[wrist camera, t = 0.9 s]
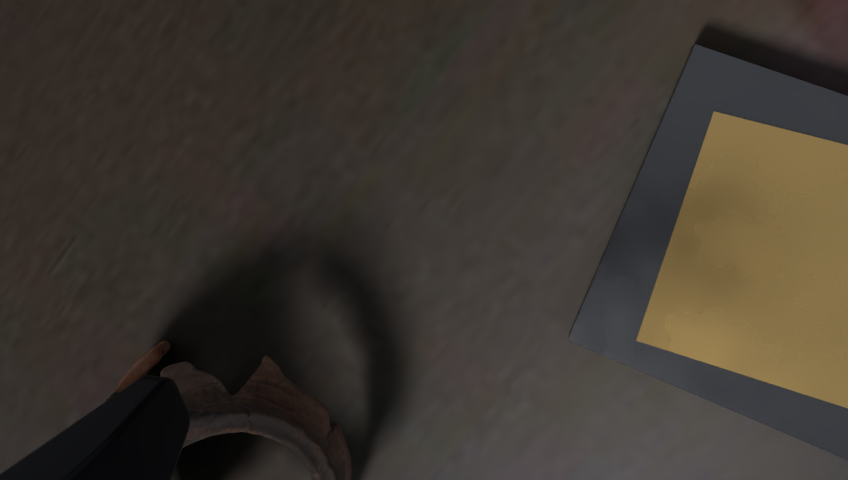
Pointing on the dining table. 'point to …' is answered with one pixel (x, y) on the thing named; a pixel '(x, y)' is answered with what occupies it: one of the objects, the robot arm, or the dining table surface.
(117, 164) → the dining table surface
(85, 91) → the dining table surface
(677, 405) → the dining table surface
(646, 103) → the dining table surface
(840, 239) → the grey flat plate
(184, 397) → the brown ring holder
